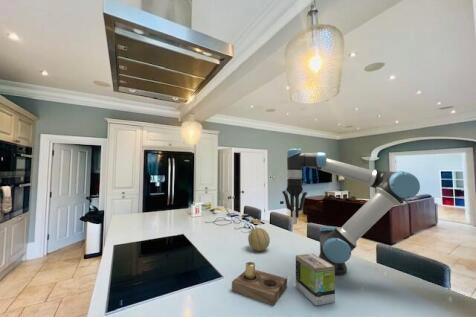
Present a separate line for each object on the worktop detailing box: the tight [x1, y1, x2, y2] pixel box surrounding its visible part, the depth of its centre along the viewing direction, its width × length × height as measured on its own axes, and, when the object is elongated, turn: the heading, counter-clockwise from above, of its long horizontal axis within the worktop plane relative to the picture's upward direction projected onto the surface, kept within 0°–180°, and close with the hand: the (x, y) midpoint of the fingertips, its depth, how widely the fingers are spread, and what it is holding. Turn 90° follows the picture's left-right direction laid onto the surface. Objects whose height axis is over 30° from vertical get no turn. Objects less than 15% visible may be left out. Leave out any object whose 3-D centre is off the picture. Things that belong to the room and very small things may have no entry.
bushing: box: [245, 261, 256, 280], centre depth 101 cm, size 4×4×10 cm
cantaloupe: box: [247, 226, 271, 252], centre depth 146 cm, size 15×15×15 cm
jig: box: [231, 269, 288, 306], centre depth 98 cm, size 16×20×4 cm
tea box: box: [295, 253, 336, 306], centre depth 95 cm, size 15×10×15 cm, turn 17°
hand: (294, 223), depth 112 cm, fingers closed
